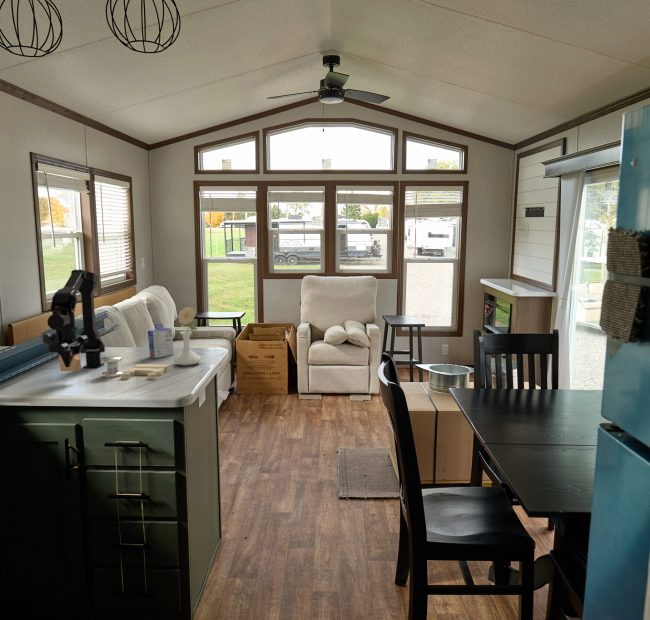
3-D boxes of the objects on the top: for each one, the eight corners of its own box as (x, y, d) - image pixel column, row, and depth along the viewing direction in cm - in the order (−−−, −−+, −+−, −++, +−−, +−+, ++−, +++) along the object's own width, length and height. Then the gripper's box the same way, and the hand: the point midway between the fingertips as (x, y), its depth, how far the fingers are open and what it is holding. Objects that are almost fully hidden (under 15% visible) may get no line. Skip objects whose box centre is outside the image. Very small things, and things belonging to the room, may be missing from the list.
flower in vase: (168, 364, 243) (165, 306, 240) (191, 359, 252) (188, 303, 248) (186, 369, 235) (182, 309, 231) (209, 364, 243) (206, 305, 239)
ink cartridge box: (168, 353, 266) (166, 322, 264) (174, 354, 262) (172, 323, 260) (148, 356, 259) (146, 325, 257) (154, 358, 255) (152, 326, 253)
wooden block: (66, 368, 219) (64, 353, 218) (81, 368, 219) (79, 353, 218) (60, 371, 215) (59, 355, 214) (75, 371, 215) (74, 355, 214)
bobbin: (108, 372, 232) (106, 355, 231) (127, 372, 231) (125, 355, 230) (98, 377, 224) (97, 360, 223) (118, 377, 223) (116, 360, 222)
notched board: (137, 368, 237) (137, 364, 237) (170, 368, 236) (170, 364, 235) (120, 379, 221) (120, 374, 221) (155, 379, 220) (155, 374, 220)
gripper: (60, 321, 224) (63, 360, 227) (31, 329, 206) (35, 372, 208) (87, 321, 223) (90, 360, 226) (61, 329, 205) (65, 372, 207)
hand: (70, 365), depth 217 cm, fingers closed on wooden block, 4 cm apart
